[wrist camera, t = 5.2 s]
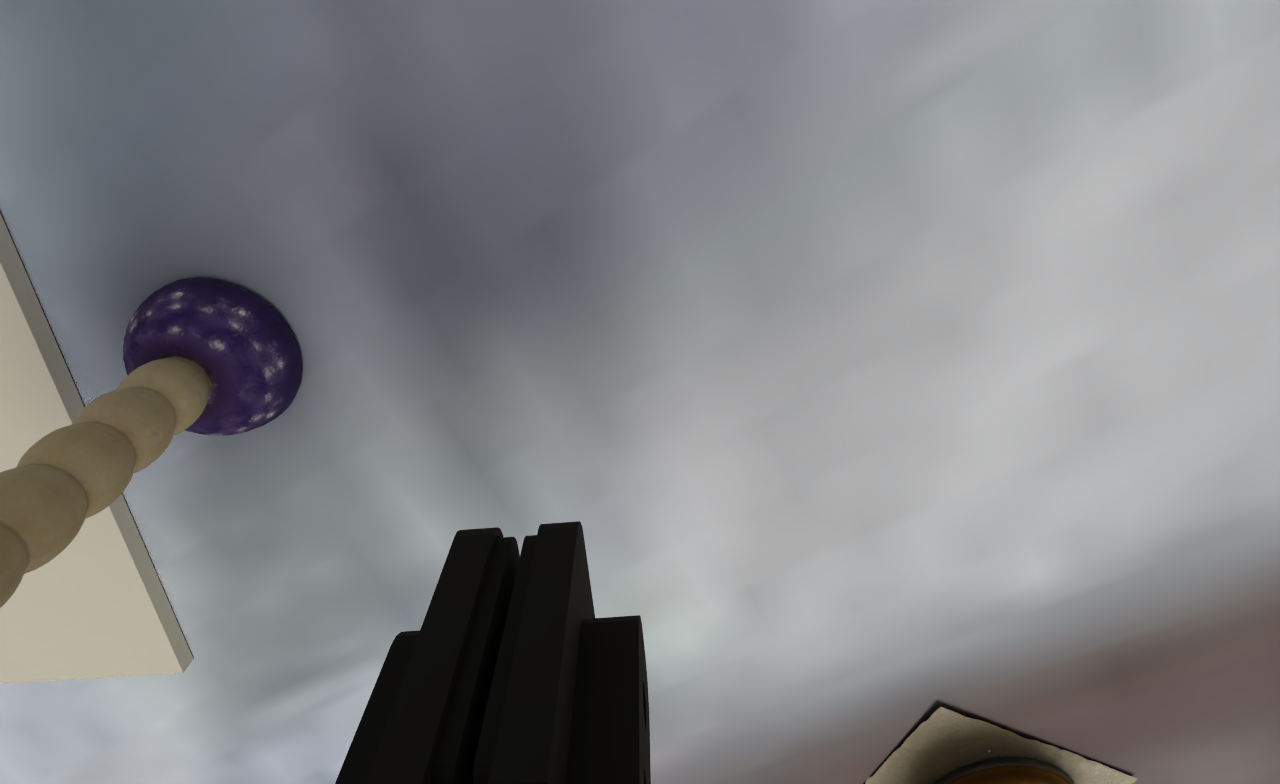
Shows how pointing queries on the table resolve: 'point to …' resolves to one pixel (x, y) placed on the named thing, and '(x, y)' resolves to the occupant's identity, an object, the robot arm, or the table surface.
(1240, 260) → the table surface
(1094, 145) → the table surface
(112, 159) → the table surface
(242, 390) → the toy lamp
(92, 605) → the mat
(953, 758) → the condiment
